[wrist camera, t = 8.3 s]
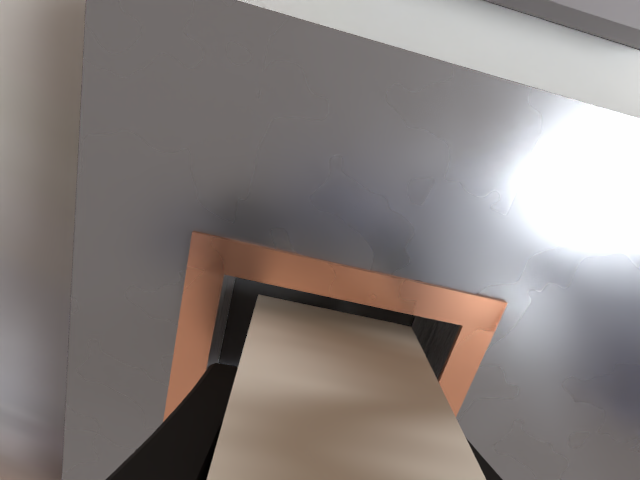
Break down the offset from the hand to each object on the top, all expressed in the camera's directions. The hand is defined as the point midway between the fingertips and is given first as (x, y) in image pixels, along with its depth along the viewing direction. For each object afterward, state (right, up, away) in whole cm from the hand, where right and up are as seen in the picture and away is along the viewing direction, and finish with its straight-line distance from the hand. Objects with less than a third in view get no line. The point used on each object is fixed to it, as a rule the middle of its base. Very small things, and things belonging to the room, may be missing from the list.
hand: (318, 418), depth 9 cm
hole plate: (+2, +1, +3) cm, 4 cm away
